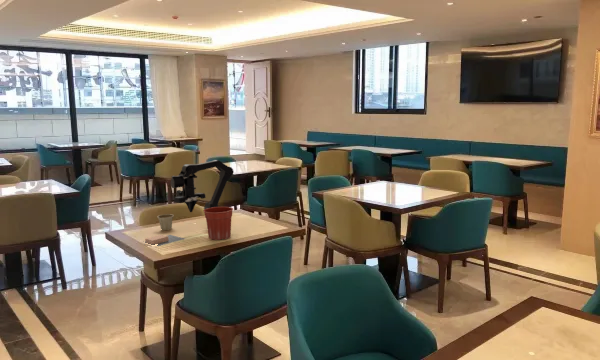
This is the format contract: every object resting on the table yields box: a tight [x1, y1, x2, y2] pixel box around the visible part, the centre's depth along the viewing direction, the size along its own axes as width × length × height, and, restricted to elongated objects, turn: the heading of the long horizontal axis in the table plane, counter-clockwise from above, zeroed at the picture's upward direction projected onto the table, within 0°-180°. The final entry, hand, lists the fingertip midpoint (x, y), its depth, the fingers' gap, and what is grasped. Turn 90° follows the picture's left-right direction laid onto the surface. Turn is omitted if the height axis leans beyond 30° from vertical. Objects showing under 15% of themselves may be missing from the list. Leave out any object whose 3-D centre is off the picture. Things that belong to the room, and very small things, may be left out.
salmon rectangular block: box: [144, 234, 169, 245], centre depth 269 cm, size 3×7×10 cm
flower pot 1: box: [157, 213, 174, 231], centre depth 298 cm, size 9×9×9 cm
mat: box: [157, 234, 186, 247], centre depth 272 cm, size 20×15×1 cm
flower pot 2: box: [203, 206, 234, 241], centre depth 276 cm, size 16×16×16 cm
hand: (191, 212), depth 290 cm, fingers closed
